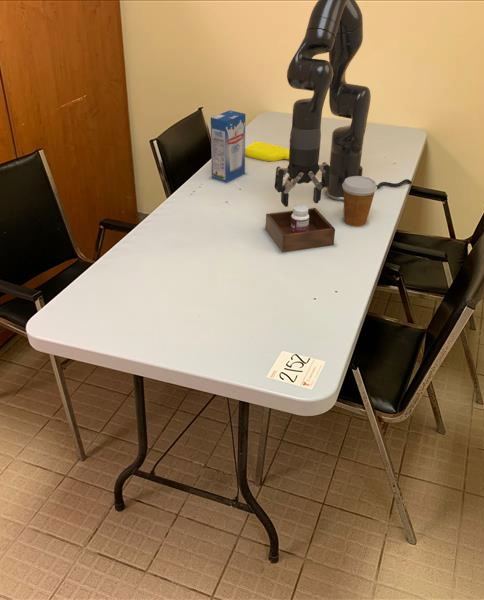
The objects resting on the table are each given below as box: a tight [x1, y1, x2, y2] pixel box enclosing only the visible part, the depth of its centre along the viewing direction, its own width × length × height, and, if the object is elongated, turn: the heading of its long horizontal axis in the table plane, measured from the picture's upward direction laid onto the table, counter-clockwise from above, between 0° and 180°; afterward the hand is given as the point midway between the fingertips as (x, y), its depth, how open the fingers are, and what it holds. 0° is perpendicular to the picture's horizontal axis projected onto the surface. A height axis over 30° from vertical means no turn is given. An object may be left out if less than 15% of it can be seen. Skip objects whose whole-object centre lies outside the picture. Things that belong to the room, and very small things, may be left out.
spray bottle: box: [245, 141, 290, 162], centre depth 212 cm, size 3×11×24 cm
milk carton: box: [210, 110, 246, 184], centre depth 193 cm, size 10×6×20 cm, turn 143°
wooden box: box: [265, 207, 336, 253], centre depth 162 cm, size 15×14×5 cm
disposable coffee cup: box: [342, 175, 378, 227], centre depth 168 cm, size 10×10×12 cm
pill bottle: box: [290, 204, 309, 234], centre depth 161 cm, size 5×5×8 cm
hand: (300, 203), depth 157 cm, fingers open, 8 cm apart
